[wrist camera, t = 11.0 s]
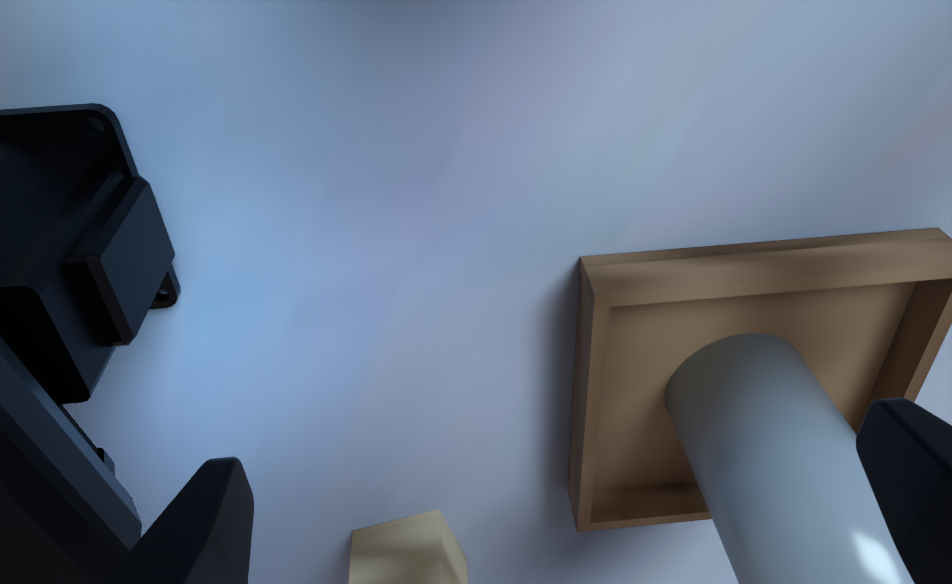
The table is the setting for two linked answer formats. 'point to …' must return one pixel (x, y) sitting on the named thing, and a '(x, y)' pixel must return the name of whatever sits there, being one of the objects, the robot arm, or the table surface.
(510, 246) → the table surface
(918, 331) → the tray
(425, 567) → the beech cube
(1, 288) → the robot arm
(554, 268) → the table surface
